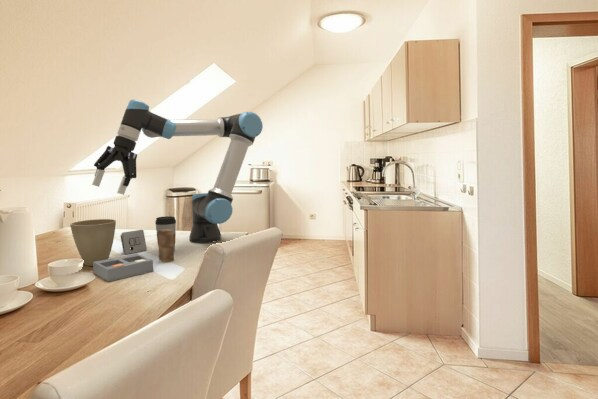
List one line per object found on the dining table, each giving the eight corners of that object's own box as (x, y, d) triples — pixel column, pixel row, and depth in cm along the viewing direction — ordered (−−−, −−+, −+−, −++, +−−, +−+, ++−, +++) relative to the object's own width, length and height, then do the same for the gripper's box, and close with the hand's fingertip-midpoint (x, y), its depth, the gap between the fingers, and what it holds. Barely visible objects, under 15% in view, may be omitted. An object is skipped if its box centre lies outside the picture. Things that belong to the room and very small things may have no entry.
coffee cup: (181, 251, 154) (180, 216, 152) (168, 255, 146) (167, 219, 144) (165, 249, 157) (164, 215, 155) (151, 254, 149) (150, 218, 147)
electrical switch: (125, 255, 147) (123, 232, 147) (120, 254, 151) (118, 232, 150) (147, 250, 155) (145, 229, 154) (141, 250, 158) (139, 229, 158)
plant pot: (124, 257, 143) (122, 218, 141) (106, 269, 128) (103, 225, 127) (86, 258, 143) (84, 218, 141) (63, 269, 128) (60, 225, 126)
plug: (168, 258, 142) (167, 228, 141) (173, 260, 140) (172, 230, 139) (159, 260, 139) (158, 230, 138) (164, 262, 137) (163, 231, 136)
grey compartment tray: (137, 264, 135) (136, 252, 134) (153, 271, 126) (152, 259, 125) (93, 273, 123) (92, 261, 123) (108, 281, 115) (107, 268, 114)
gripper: (96, 129, 141) (77, 180, 138) (143, 140, 132) (123, 195, 130) (111, 136, 148) (93, 184, 145) (157, 147, 139) (138, 199, 136)
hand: (107, 189), depth 137 cm, fingers open, 13 cm apart
